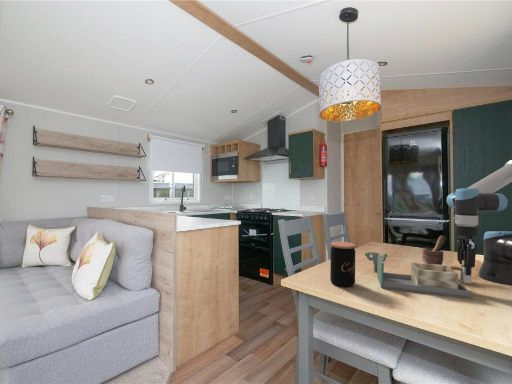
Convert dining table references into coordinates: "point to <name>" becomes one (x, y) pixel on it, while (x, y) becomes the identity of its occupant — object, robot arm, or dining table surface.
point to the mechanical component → (375, 258)
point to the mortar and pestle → (434, 253)
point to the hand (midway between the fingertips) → (465, 281)
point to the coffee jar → (342, 264)
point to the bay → (406, 284)
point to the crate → (435, 275)
